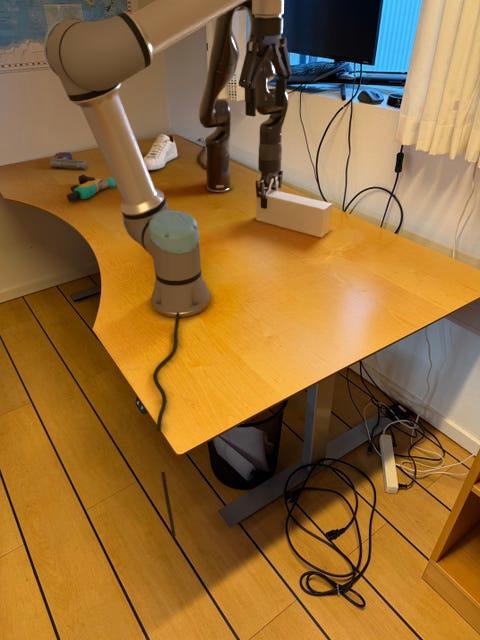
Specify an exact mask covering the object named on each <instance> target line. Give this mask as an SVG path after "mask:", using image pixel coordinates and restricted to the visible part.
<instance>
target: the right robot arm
mask: <svg viewBox="0 0 480 640" xmlns="http://www.w3.org/2000/svg"><path fill="white" fill-rule="evenodd" d="M241 11H242V12H243V11H247V14H248V17H249V21H250V30H249V36H248V40H247V42H255V39H256V37H255V36H254V35H253V34H252V19H253V18H254V17H255V15H253V14H252V0H247V1H245V2H243V3H242V4H240V5H238V6H237V7H235V8H233V9H232V10H230V11H228V12H227V13H225V14H223V15H221V16H220V17H218V18H216V19H215V27H214V34H213V38H212V39H213V40H212V45H211V51H210V56H209V61H208V68H207V69H208V70H207V75H206V80H205V85H204V88H203V93H202V97H201V100H200V103H199V108H198V118H199V119H198V120H199V124H200V125H201V126H202V127H203V128H204V129H213V128H215V130H214V131H213V132H212V133H210V134H209V135H207V136H206V137H205V138H204V139H205V141H204V145H205V146H204V148H203V149H202V151H201V152H200V153H199V155H198V160H199V163H200V164H201V165H202V167H204V168H205V172H206V174H205V175H206V187H207V188H206V189H207V191H208V192H211V193H216V194H221V193H222V194H223V193H226V192H229V191H230V190H231V157H230V156H231V155H230V154H231V153H230V141H231V122H232V115H231V113H232V112H231V106H230V103H229V102H228V100H227V99H225V98H219V96H220V94H221V93H222V92H223V90H224V89H225V88H226V87H227V86H228V84H229V83H230V82H231V81H232V79H233V78H234V76H235V75H236V71H237V68H238V63H239V59H240V49H239V48H240V47H239V45H238V42H237V39H236V37H235V35H234V32H233V20H234V15H235V13H236V12H241ZM275 77H276V72H275V69H274V67H273V65H272V63H271V60H268V61H266V62H265V63H264V64H263V65H262V68H261V70H260V73H259V75H258V77H257V80H256V82H255V85H254V87H253V88H256V113H258V114H259V115H261V116H268V115H269V117H268V118H267V119H266V120H264V121H263V122H262V123H260V125H259V140H258V141H259V142H258V159H257V160H258V163H257V165H258V167H257V169H258V171H259V172H260V174H261V175H260V178H259V180H255V193H256V195H255V196H256V198H257V197H259V198H261V208H263V209H266V208H267V196H268V192H270V189H271V190H275V191H280V190H279V189H282V184H283V174H284V171H283V170H282V158H283V157H282V156H283V146H282V145H283V144H282V138H283V137H282V135H283V134H282V133H283V130H282V129H283V126H284V123H285V119H286V116H287V113H288V108H289V96H288V93H287V92H286V94H285V106H284V107H282V106H275V101H276V87H273V88H268V83H269V82H271V81H272V80H274V78H275ZM198 141H201V139H200V138H199V139H198ZM204 152H205V164H204V163H203V161H202V160H201V159H202V158H201V157H202V155H203V154H204ZM265 188H267V189H265ZM264 191H266V192H265V195H264ZM259 192H260V193H259Z"/></svg>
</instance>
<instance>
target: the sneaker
mask: <svg viewBox="0 0 480 640" xmlns="http://www.w3.org/2000/svg"><path fill="white" fill-rule="evenodd" d="M178 156H179V155H178V149H177V144H176V140H175V136H174V135H173V134H164V133H161V134H158V135H157V137H156V139H155V140H154V142H153V143H152V146H151V148H150V150H149V151H148V153H147V154H146V155H145V156H144V157H143V159H144V162H145V164H146V167H147V169H148V171H156V170H160V169H162V168H164V167H165V166H166V164H167V163H168V162H170V161H172V160H175V159H176V158H177V157H178Z"/></svg>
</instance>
